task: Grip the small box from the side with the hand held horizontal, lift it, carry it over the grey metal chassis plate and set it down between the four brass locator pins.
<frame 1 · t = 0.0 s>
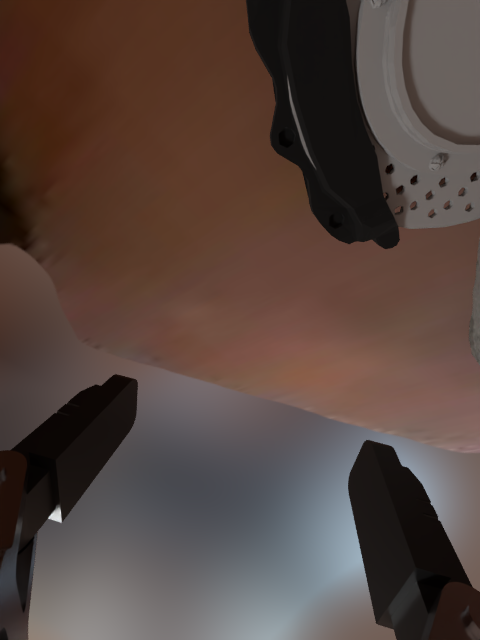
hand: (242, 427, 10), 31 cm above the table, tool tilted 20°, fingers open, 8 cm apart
brake disc: (462, 31, 22), point 2 cm above the table, touching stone
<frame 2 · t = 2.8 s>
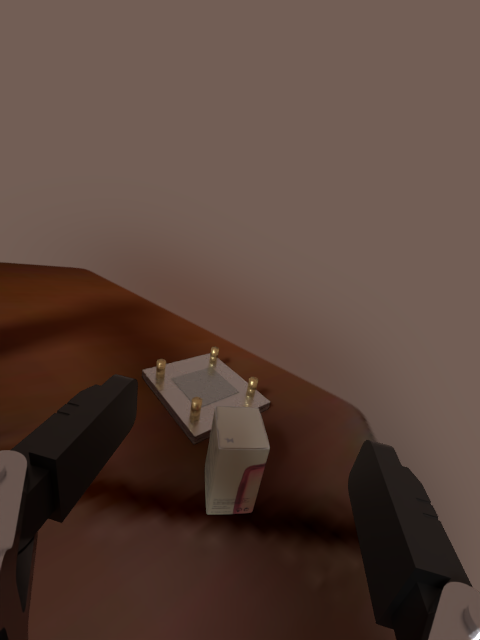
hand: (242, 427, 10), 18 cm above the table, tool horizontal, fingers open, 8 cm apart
chassis: (204, 392, 39), on the table
small box: (226, 489, 27), on the table
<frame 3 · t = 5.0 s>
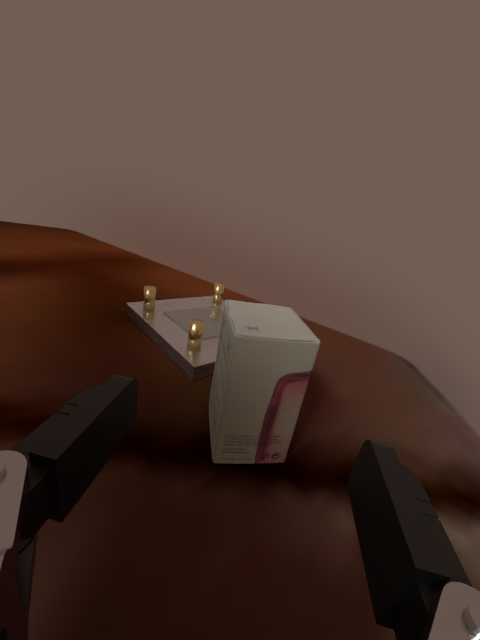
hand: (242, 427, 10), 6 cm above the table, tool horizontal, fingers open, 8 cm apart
chassis: (206, 331, 30), on the table
small box: (241, 434, 18), on the table
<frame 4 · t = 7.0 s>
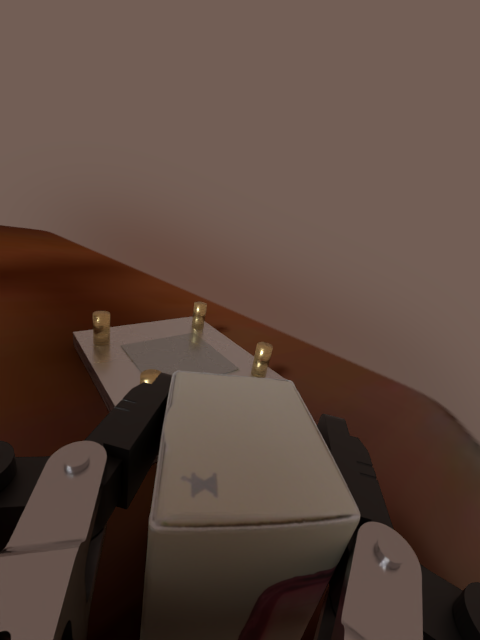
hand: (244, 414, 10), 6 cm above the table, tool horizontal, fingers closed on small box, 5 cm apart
chassis: (178, 370, 23), on the table
small box: (205, 595, 10), on the table, touching gripper
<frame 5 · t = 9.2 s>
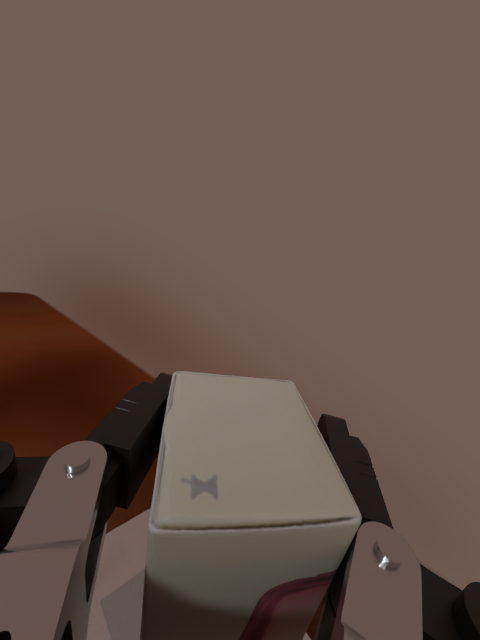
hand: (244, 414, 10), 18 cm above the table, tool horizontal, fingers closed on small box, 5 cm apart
chassis: (175, 627, 18), on the table
small box: (205, 596, 10), point 11 cm above the table, touching gripper
when the fingers open (9 cm above the table, at t = 11.6 s): small box drops 1 cm, resting on chassis.
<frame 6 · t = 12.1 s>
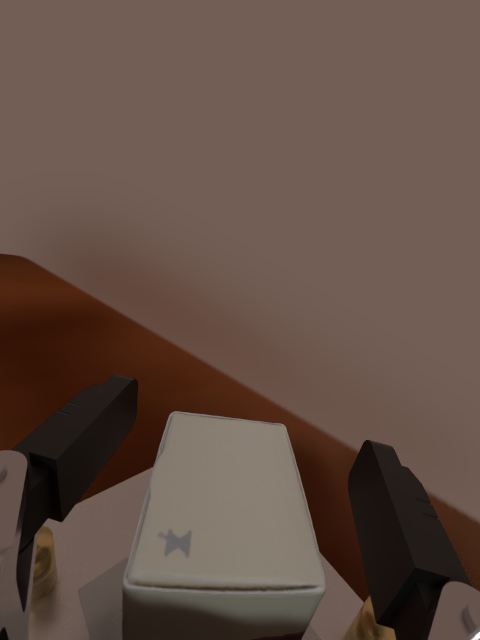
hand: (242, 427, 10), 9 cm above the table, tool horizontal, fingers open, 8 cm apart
chassis: (195, 631, 11), on the table
small box: (196, 625, 11), point 1 cm above the table, touching chassis
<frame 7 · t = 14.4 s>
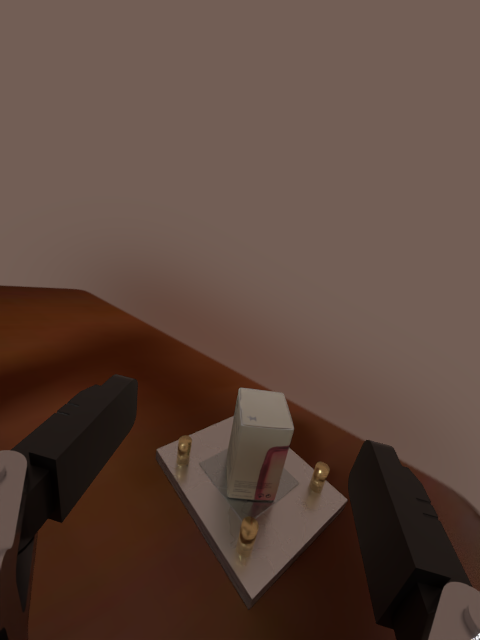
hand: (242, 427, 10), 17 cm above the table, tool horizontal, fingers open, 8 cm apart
chassis: (246, 483, 27), on the table
small box: (248, 476, 26), point 1 cm above the table, touching chassis
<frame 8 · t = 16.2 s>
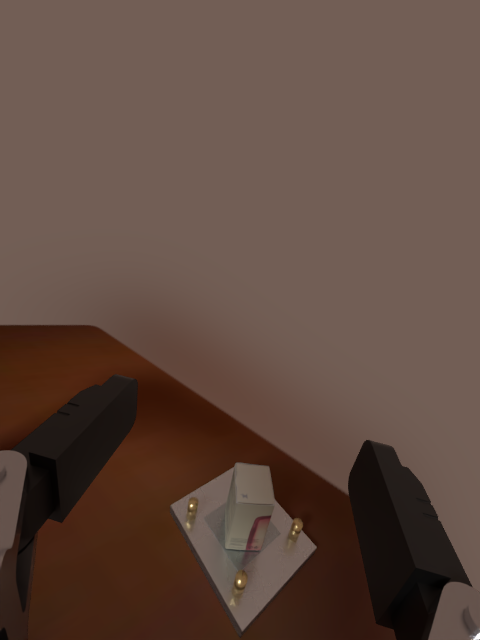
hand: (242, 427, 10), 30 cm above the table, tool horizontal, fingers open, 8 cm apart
chassis: (240, 532, 35), on the table
small box: (241, 528, 34), point 1 cm above the table, touching chassis
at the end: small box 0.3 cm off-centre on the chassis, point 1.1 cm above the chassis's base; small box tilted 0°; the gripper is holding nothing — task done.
